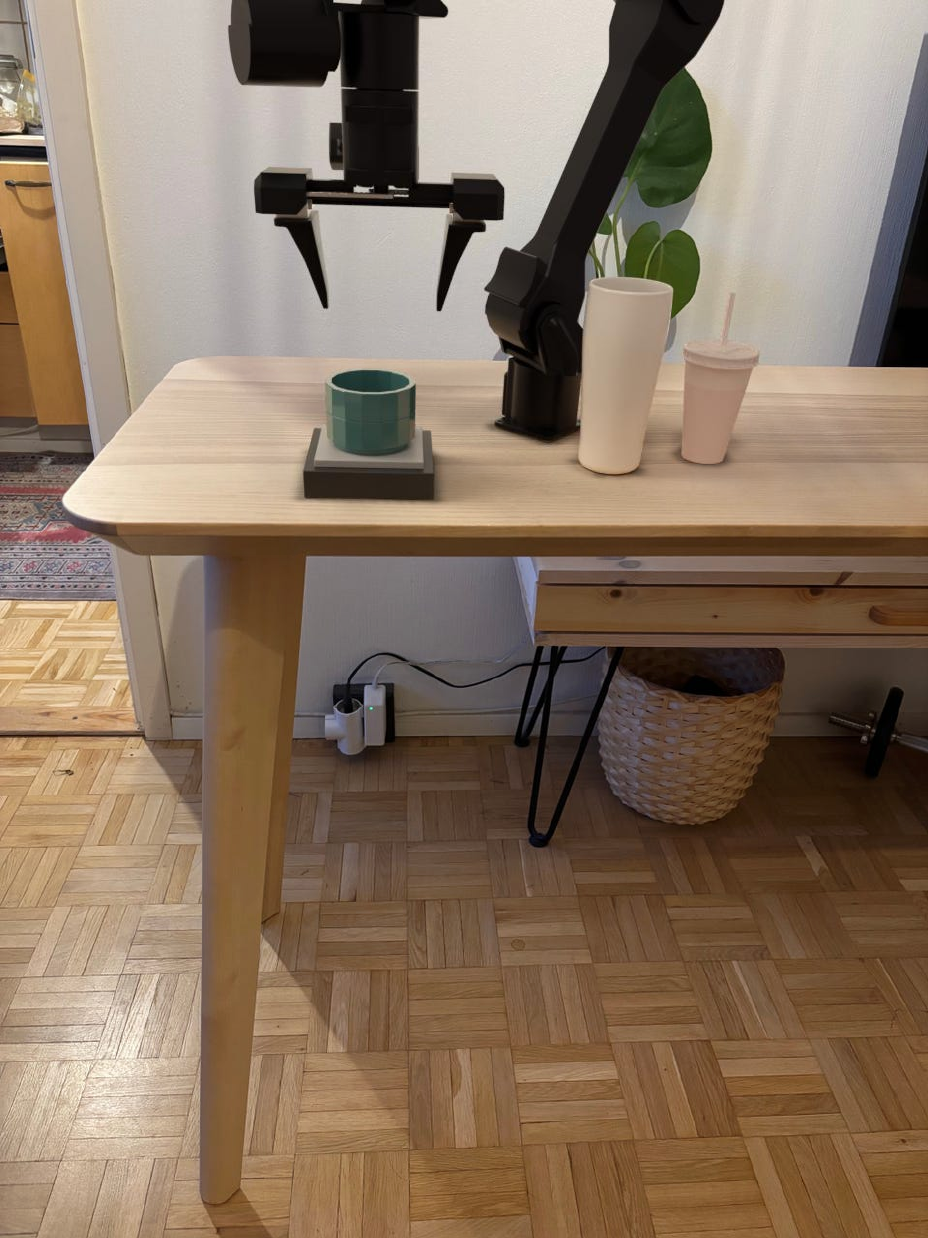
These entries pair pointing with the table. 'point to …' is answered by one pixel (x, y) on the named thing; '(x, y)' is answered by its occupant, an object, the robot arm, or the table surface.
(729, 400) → the smoothie
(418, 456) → the scale
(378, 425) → the bowl
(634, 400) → the white tumbler
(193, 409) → the table surface
